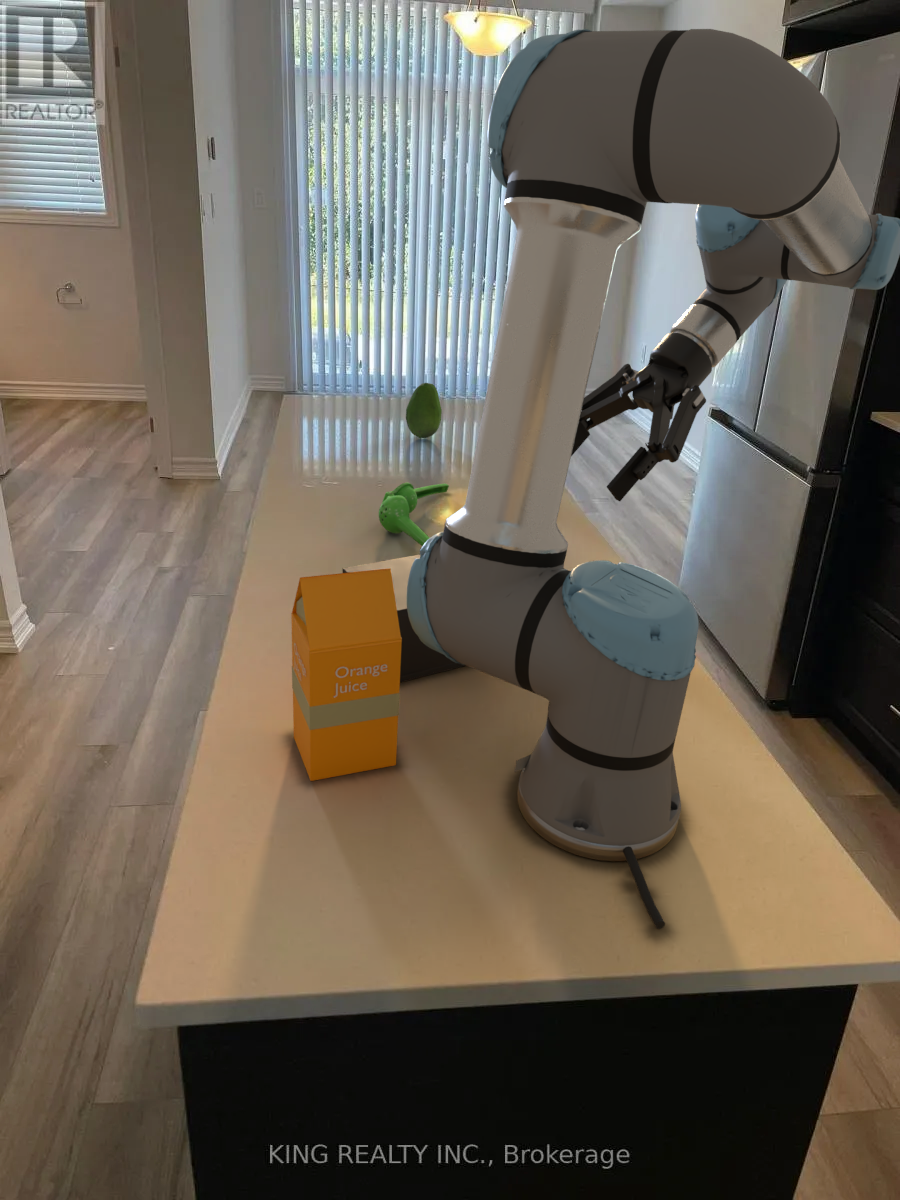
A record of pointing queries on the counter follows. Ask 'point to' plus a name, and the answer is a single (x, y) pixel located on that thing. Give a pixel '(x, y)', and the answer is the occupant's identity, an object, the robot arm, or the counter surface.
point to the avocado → (424, 411)
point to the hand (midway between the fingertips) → (581, 478)
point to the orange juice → (346, 672)
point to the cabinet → (408, 624)
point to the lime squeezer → (405, 509)
